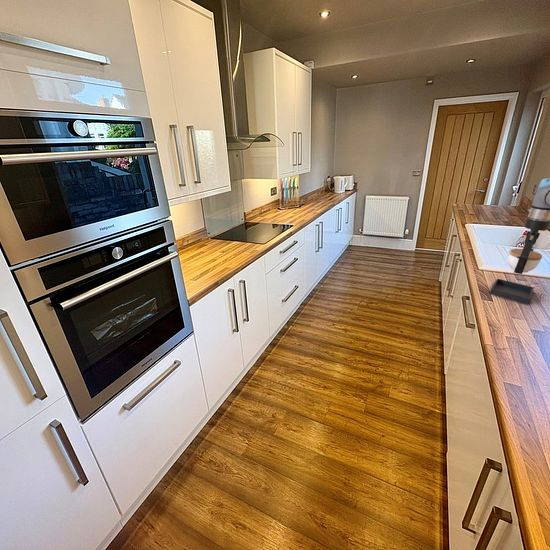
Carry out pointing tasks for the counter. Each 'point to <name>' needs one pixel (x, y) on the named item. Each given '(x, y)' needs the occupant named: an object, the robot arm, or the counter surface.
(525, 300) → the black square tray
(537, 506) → the counter surface
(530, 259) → the trinket box
